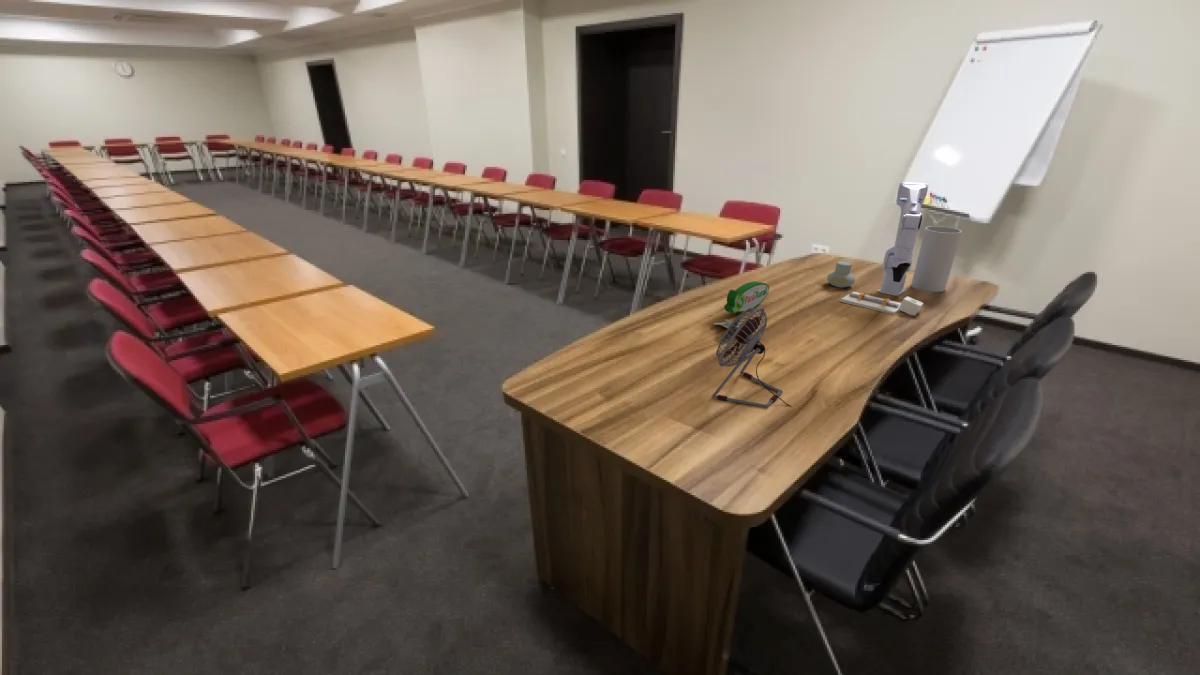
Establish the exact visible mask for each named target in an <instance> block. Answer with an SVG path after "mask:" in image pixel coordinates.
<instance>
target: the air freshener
mask: <svg viewBox="0 0 1200 675" xmlns="http://www.w3.org/2000/svg"><path fill="white" fill-rule="evenodd" d="M852 265H853V264H852V263H851V262H848V261H837V262H836V263H835V269H834V270H833V271H831V272H830V273H829V274H828V275H827V278H826V279H827V282H828V283H829V284H830V285H831V286H833V287H835V288H840V289H842V288H848V287H851V286H852V285H854V283H855V281H856V278H855V276H854V275H853V273H851V269H852Z"/></svg>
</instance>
